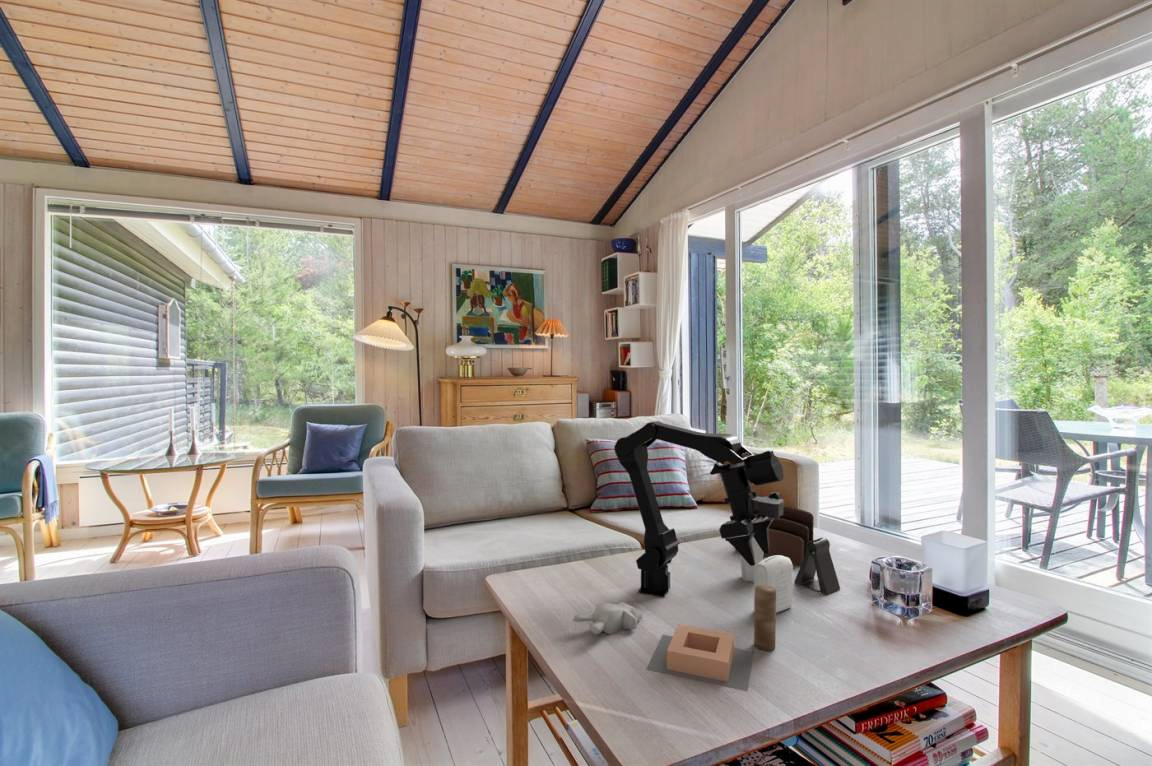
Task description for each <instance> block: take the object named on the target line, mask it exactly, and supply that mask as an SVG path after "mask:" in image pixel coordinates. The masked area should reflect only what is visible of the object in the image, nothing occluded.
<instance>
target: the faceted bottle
mask: <svg viewBox="0 0 1152 766" xmlns="http://www.w3.org/2000/svg"><path fill="white" fill-rule="evenodd" d="M751 542H752V548H753V553H754V558H755V565H754V566H750V565H749V564H748V563H747V561H746V560H745V559H744V558H743V557H742V556H741V555H740V554H739V559H740V569H741V570H740V571H741V577H742V578H741V579H742V580H744V581H745V580H746V581H745V582H749V581H751V583H754V580H755V567H756V565H757V564H758V563H759V562H761V561H762V560H764V557H763V554H764V552H763V551H762V549H761V548H760V546H759V545H758V543H757V542H756V540H755V538H754V537H752V539H751Z"/></svg>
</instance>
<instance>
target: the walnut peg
mask: <svg viewBox="0 0 1152 766" xmlns="http://www.w3.org/2000/svg"><path fill="white" fill-rule="evenodd" d="M776 622H777V613H776V589H775V588H773V587H771V586H767V585H758V586H756V587H755V610H754V626H753V627H754V629H753V631H754V633H753V634H754V635H753V637H754V638H753V646H754V647H755V648H756V649H757V650H759V651H762V652H774V651H775V650H776V629H777V627H776V624H777V623H776Z"/></svg>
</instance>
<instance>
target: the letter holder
mask: <svg viewBox="0 0 1152 766" xmlns="http://www.w3.org/2000/svg"><path fill="white" fill-rule="evenodd" d="M814 517H815V516H814V515H813V513H811V512H809V511H806V510H803V509H800V508H796V507H792V506H787V505H785V506H784V507H783V515H781V516H780V517H779V518H777V519H775V518H774V520H773V521H772V523H771V524H770V526H769V553H768V554H763V559H766V558H768V557H771V556H775V555H781V556H785V557H788V558H789V559H790V560H791V562H792V565H795V564H796V566H799V565H800V566H801V564H802V561H803V559H804V556H805V554H806V544H807V543H808V542H810V541H813V540H814V524H815V523H814ZM768 519H770V518H769V517H768ZM735 551H736V552H738V551H737V550H736V549H735Z"/></svg>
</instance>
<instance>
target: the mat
mask: <svg viewBox="0 0 1152 766" xmlns="http://www.w3.org/2000/svg"><path fill="white" fill-rule="evenodd" d="M672 638H673V635H668V634H662V635H661V638H660V640H659V641H658V644H657V646H656V648H655V650H654V652H653V654H652V656H651V658H650V661H649V663H648V665H647V667H646V670H647V671H652V672H656V673H660V674H666V675H670V676H674V677H678V678H679V677H680V678H684V679H690V680H694V681H697V682H698V681H699V682H704V683H708V684H712V685H713V684H714V685H718V686H720V687H721V686H722V687H726V688H727V687H728V688H732V689H737V690H741V691H745V692H748V691H749V685H750V684H749V683H750V679H751V678H750V677H751V672H752V671H751V670H752V665H753V664H752V663H753V656H754V655H753V654H754V651H753V650H747V649H742V648H737V647H734V654H733V659H732V664H731V669H730V674H729V679H728V682H726V681H722V680H717V679H712V678H707V677H702V676H698V675H693V674H688V673H683V672H678V671H674V670H669V669H667V649H668V647H669V645H670V642H671V640H672Z"/></svg>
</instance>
